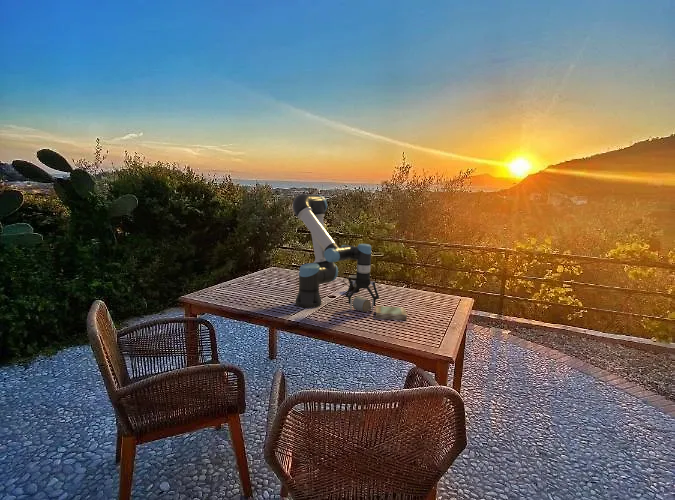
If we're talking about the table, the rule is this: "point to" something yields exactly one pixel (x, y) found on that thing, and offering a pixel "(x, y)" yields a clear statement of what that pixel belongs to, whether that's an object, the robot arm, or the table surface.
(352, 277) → the coffee mug
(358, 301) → the ceramic mug
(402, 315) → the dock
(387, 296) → the table surface
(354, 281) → the robot arm
